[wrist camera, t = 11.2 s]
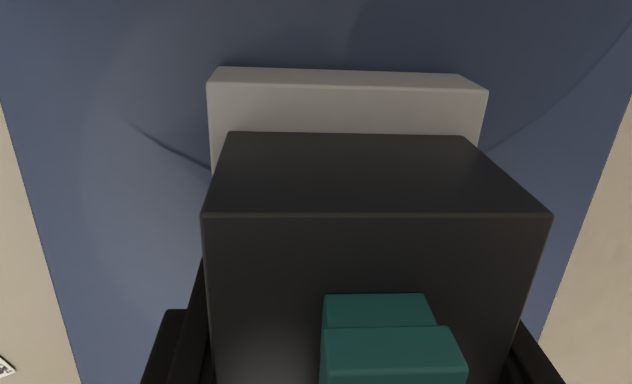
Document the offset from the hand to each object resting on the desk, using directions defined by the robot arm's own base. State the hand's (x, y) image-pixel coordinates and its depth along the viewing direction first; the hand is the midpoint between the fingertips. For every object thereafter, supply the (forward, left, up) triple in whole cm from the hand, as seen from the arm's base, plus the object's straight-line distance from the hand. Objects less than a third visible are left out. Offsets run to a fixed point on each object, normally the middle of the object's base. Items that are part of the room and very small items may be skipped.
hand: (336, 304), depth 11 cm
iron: (0, +1, -2) cm, 3 cm away
